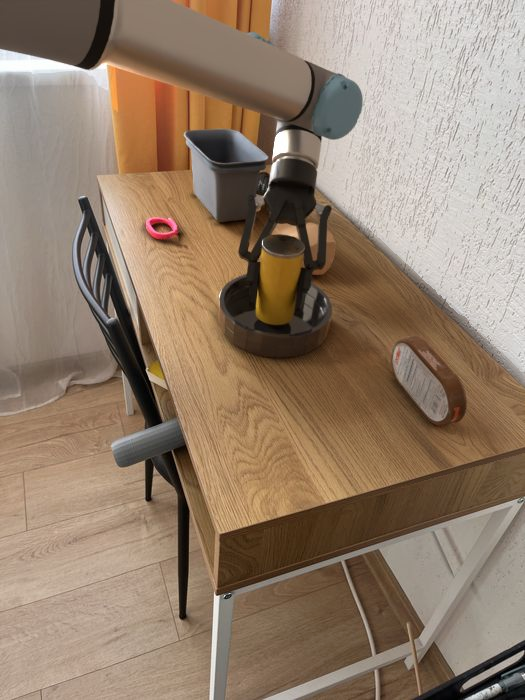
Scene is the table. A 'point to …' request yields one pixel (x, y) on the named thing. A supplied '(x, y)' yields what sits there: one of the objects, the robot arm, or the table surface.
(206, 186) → the storage bin
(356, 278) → the table surface
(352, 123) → the robot arm
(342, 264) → the table surface
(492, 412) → the table surface
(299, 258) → the corn can
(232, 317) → the pan
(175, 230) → the fitness band
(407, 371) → the tin
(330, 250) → the squash
